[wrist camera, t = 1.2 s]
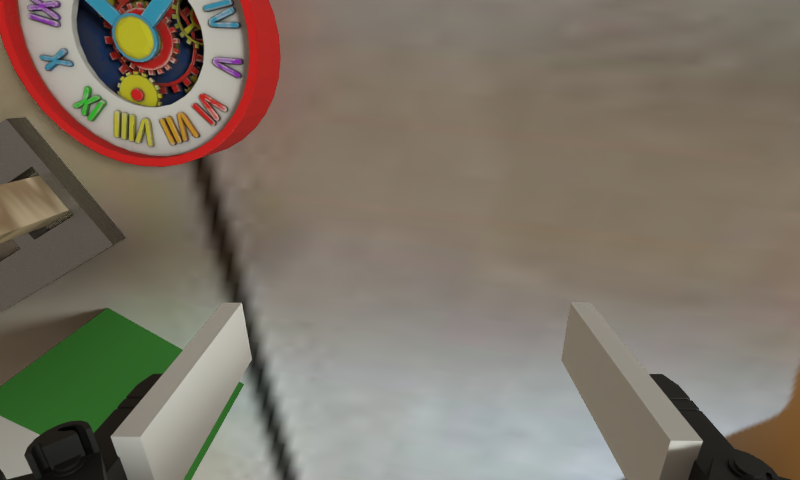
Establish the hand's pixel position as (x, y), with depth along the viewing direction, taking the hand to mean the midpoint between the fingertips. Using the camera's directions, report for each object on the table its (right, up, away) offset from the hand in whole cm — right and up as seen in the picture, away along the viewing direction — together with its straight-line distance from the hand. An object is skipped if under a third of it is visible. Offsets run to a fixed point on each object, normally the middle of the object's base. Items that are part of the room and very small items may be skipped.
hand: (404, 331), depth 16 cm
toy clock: (-21, +21, +20) cm, 36 cm away
